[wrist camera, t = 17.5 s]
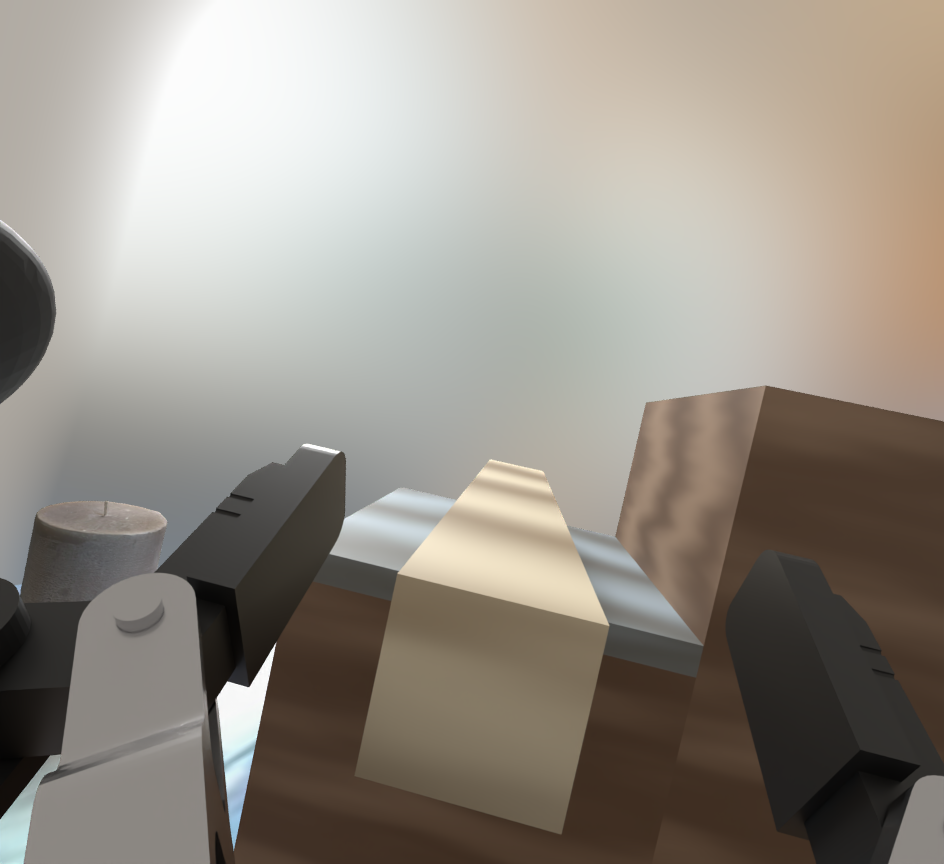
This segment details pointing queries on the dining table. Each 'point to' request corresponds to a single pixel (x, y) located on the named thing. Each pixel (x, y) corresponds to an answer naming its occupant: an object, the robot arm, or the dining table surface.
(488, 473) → the maple rod
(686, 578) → the block
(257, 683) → the dining table surface
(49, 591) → the pillar candle
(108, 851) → the robot arm
